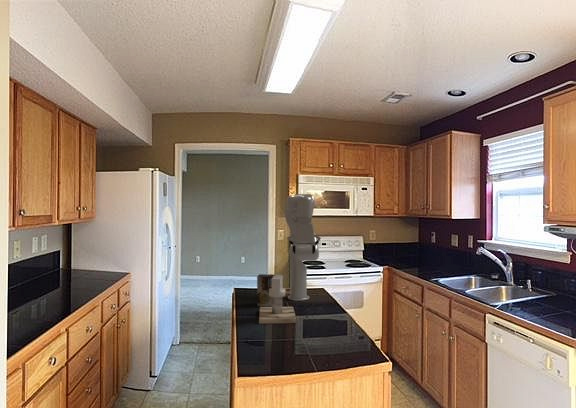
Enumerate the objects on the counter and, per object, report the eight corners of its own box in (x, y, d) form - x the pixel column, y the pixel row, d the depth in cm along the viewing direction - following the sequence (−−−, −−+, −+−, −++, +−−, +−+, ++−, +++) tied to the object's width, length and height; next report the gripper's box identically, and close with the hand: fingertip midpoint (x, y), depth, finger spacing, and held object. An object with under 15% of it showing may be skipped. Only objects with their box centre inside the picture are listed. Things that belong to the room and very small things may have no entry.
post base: (260, 311, 179) (260, 291, 179) (293, 310, 180) (293, 291, 180) (259, 323, 159) (259, 301, 159) (296, 323, 160) (296, 301, 160)
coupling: (267, 297, 165) (267, 278, 165) (270, 292, 176) (270, 274, 176) (289, 298, 164) (289, 279, 164) (291, 293, 175) (291, 275, 175)
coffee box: (275, 303, 194) (275, 274, 194) (273, 306, 188) (273, 276, 188) (258, 302, 195) (259, 273, 195) (256, 306, 188) (256, 276, 189)
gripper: (287, 220, 177) (287, 254, 177) (321, 221, 177) (321, 254, 178) (287, 220, 185) (287, 252, 185) (320, 220, 185) (319, 252, 185)
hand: (303, 253), depth 181 cm, fingers open, 9 cm apart
